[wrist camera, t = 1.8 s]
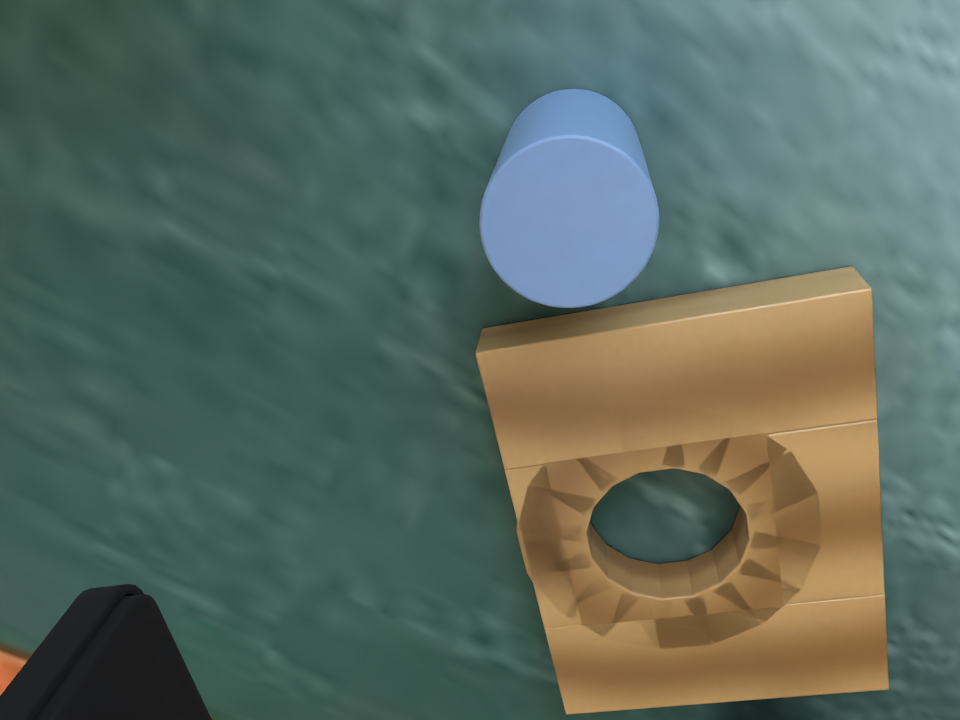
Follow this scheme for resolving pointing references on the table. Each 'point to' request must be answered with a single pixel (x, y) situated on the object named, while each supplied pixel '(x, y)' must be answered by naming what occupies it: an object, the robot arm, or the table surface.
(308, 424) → the table surface
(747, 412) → the holder
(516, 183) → the light blue cylinder
